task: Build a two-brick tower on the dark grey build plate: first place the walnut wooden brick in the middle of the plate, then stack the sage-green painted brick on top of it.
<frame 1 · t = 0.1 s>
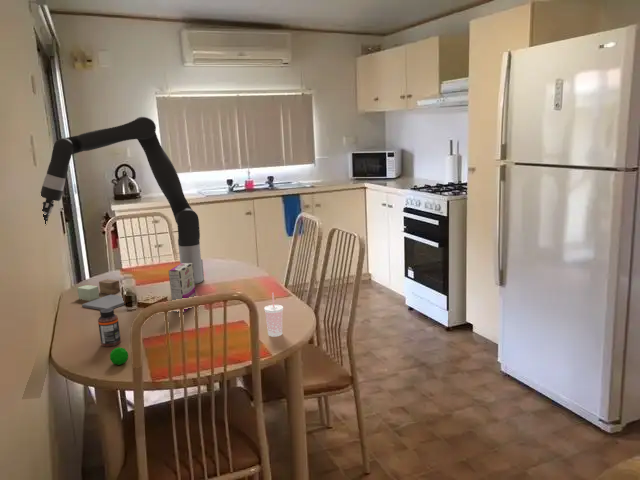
hand: (42, 226, 213), 31 cm above the table, tool tilted 20°, fingers open, 8 cm apart
supplement bottle: (111, 344, 171), on the table
walnut brick: (110, 292, 229), on the table
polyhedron: (120, 364, 155), on the table
build plate: (109, 303, 213), on the table
beverage cup: (275, 334, 173), on the table
sage brick: (89, 298, 221), on the table
candy bar box: (184, 308, 204), on the table
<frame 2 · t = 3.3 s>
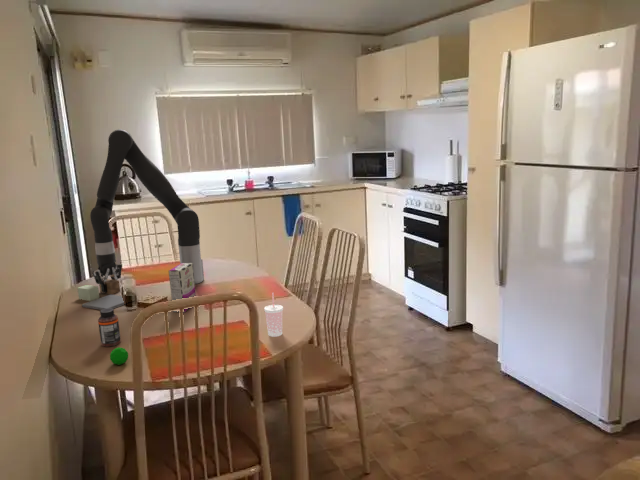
hand: (110, 290, 229), 1 cm above the table, tool pointing down, fingers closed on walnut brick, 4 cm apart
walnut brick: (110, 292, 229), on the table, touching gripper
everything else where it was.
when the fingers open (3 cm above the table, at t = 8.5 s): walnut brick drops 1 cm, resting on build plate.
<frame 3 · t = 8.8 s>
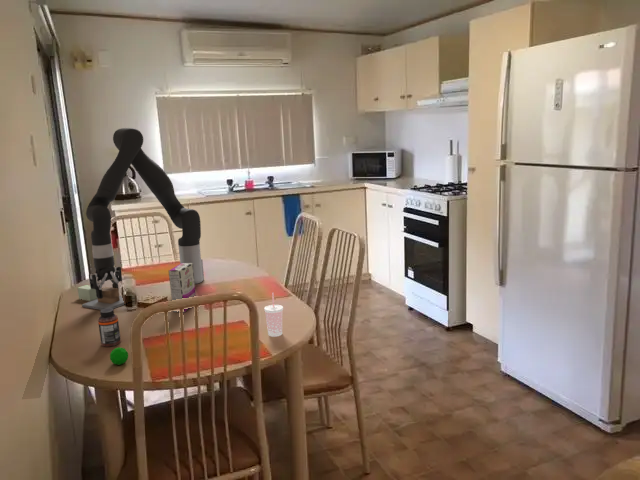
hand: (108, 295, 212), 3 cm above the table, tool pointing down, fingers open, 7 cm apart
walnut brick: (108, 301, 212), point 1 cm above the table, touching build plate
everything else where it was.
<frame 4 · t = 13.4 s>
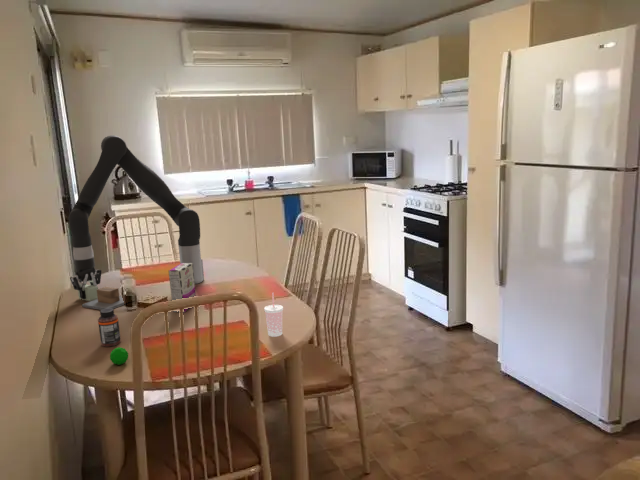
hand: (88, 296, 221), 1 cm above the table, tool pointing down, fingers closed on sage brick, 4 cm apart
sage brick: (89, 298, 221), on the table, touching gripper
everything else where it was.
when the fingers open (8 cm above the table, at t = 18.9 s): sage brick drops 1 cm, resting on walnut brick.
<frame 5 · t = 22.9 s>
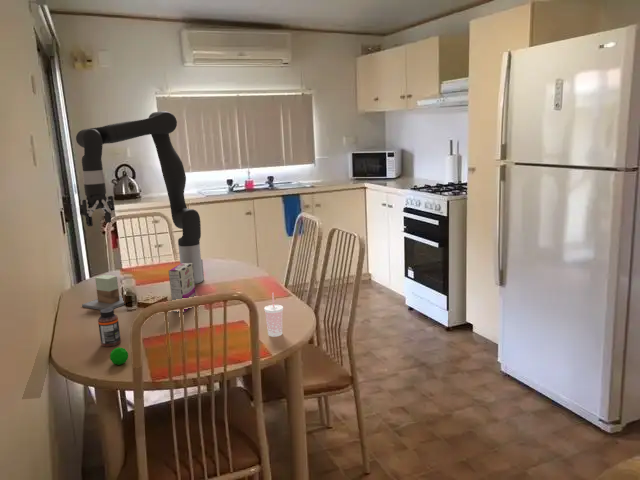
hand: (99, 224, 206), 32 cm above the table, tool pointing down, fingers open, 8 cm apart
walnut brick: (108, 301, 212), point 1 cm above the table, touching build plate, sage brick
sage brick: (107, 289, 211), point 6 cm above the table, touching walnut brick
everything else where it was.
at the end: walnut brick inside the target area on the build plate (0.1 cm from its centre), point 1.0 cm above the build plate's base; sage brick 0.0 cm off-centre on the walnut brick, point 5.0 cm above the walnut brick's base; sage brick tilted 0° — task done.
